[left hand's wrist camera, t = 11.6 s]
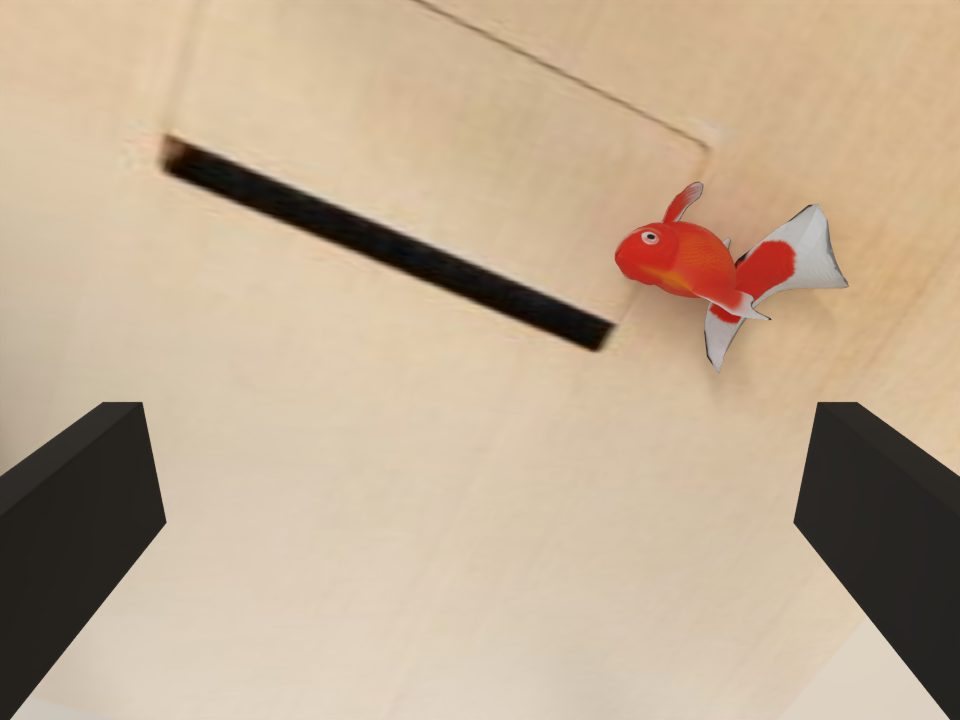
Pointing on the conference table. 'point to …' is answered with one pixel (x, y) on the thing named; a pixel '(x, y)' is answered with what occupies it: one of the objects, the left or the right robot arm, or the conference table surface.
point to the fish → (729, 266)
